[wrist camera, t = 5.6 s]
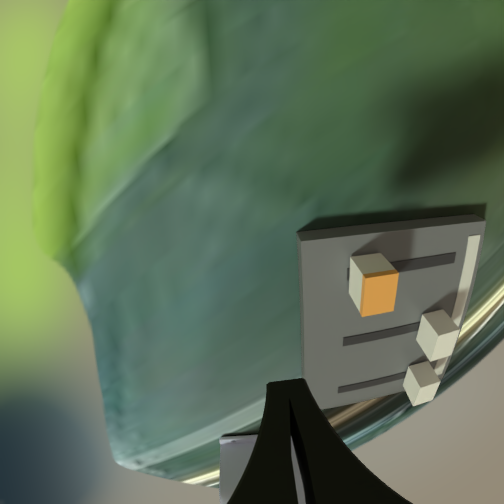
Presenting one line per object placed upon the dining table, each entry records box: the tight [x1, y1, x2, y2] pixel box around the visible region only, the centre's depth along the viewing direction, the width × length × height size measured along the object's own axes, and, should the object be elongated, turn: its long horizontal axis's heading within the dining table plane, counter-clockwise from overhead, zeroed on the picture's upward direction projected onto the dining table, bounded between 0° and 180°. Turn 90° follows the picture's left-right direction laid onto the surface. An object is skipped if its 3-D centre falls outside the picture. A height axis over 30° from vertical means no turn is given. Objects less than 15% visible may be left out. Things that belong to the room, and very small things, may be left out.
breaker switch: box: [349, 253, 399, 317], centre depth 17 cm, size 2×2×3 cm
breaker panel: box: [296, 214, 486, 410], centre depth 20 cm, size 14×16×4 cm
